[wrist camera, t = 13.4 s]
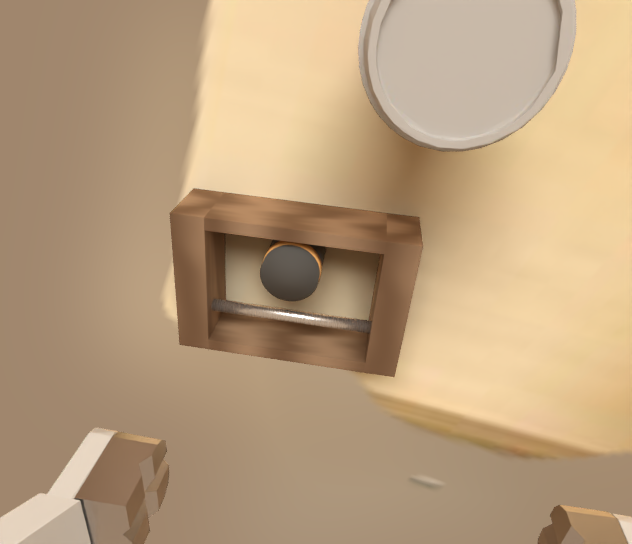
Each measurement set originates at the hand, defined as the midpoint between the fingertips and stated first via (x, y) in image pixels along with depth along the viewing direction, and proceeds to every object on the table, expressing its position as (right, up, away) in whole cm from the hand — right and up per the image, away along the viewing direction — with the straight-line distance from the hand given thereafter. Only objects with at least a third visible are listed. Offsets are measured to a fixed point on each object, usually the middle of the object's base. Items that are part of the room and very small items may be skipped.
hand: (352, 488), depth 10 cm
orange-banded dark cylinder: (-2, +7, +30) cm, 31 cm away
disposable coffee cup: (+7, +20, +21) cm, 30 cm away
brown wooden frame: (-2, +5, +31) cm, 32 cm away
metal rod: (-3, +1, +30) cm, 30 cm away
